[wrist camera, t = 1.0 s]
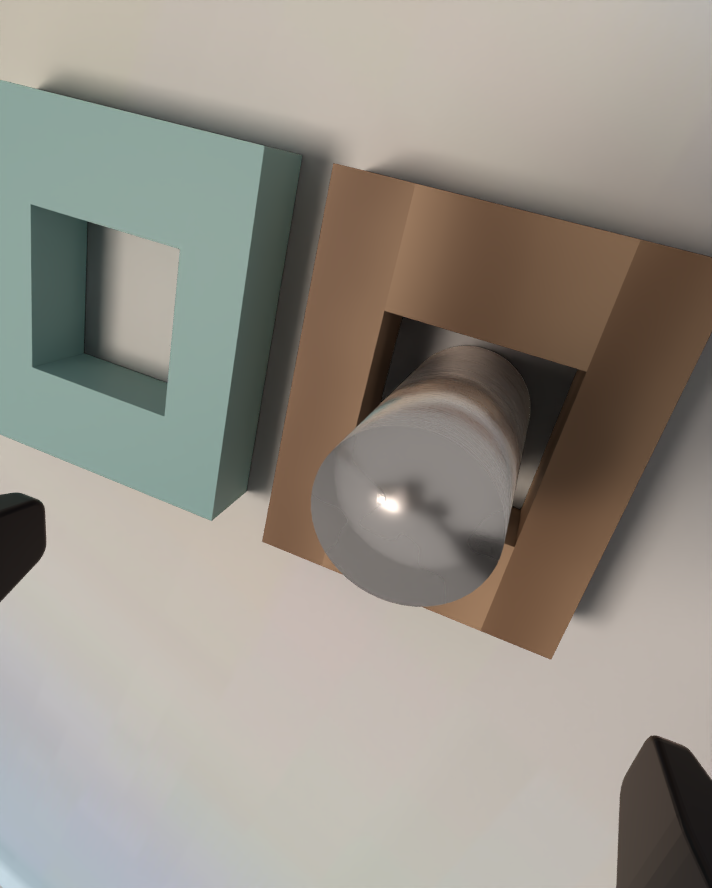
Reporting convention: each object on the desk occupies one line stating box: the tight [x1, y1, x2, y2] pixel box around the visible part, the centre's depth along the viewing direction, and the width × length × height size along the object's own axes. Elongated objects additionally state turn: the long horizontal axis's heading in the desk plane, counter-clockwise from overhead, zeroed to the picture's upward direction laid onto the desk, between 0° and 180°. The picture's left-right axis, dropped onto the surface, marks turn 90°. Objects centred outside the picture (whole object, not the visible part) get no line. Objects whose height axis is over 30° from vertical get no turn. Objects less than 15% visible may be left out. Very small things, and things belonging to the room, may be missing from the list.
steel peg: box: [311, 346, 531, 607], centre depth 15 cm, size 4×4×8 cm
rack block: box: [0, 80, 302, 521], centre depth 20 cm, size 10×12×2 cm
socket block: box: [262, 163, 712, 659], centre depth 18 cm, size 10×12×2 cm
